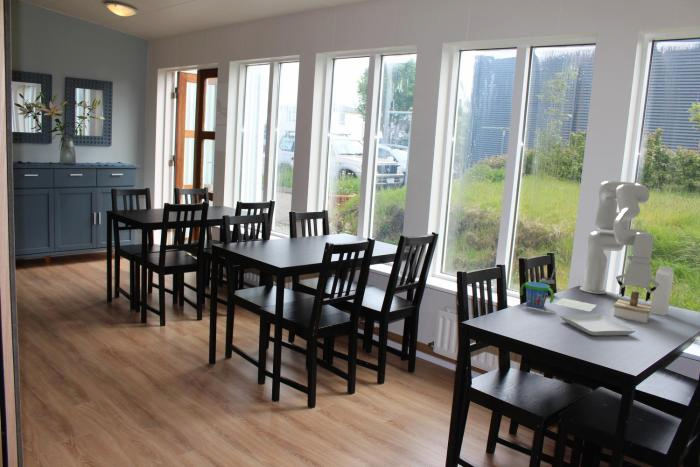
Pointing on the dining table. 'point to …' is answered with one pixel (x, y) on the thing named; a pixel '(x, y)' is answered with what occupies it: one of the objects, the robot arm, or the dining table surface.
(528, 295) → the snack cup
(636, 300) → the lid
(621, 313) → the cream square dish
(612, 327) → the salad plate
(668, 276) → the milk
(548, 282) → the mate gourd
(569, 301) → the mat
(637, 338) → the dining table surface
